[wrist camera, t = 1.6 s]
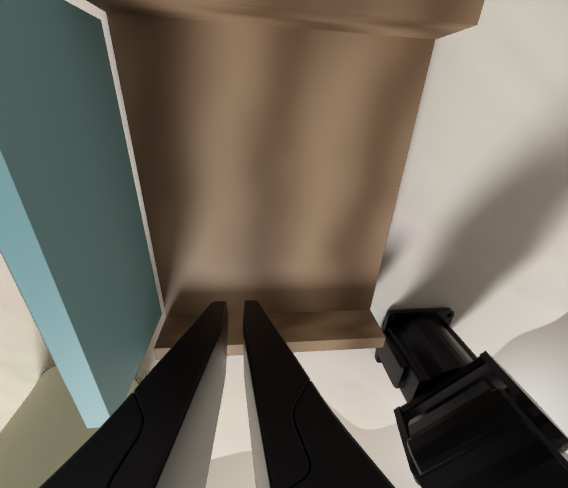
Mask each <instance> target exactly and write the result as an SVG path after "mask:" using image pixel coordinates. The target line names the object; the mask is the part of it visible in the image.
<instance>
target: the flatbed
mask: <svg viewBox="0 0 568 488" xmlns="http://www.w3.org/2000/svg"><path fill="white" fill-rule="evenodd" d="M87 1H89V2H90V3H92V4H93V5H95V6H97V7H98V8H100V9H102V10H103V11H105V12H106V14H107V19H108V24H109V29H110V34H111V39H112V44H113V49H114V54H115V59H116V64H117V69H118V75H119V80H120V85H121V90H122V95H123V100H124V105H125V110H126V115H127V120H128V125H129V130H130V135H131V140H132V145H133V150H134V155H135V160H136V166H137V171H138V176H139V181H140V186H141V191H142V196H143V201H144V206H145V211H146V216H147V221H148V226H149V231H150V236H151V241H152V246H153V252H154V257H155V262H156V267H157V272H158V277H159V282H160V287H161V292H162V297H163V302H164V307H165V312H166V319H165V322H164V325H163V327H162V330H161V332H160V335H159V337H158V340H157V342H156V345H155V347H154V352H155V356H156V359H162V358H163V357H164V355H165V354H166V353H167V352H168V351H169V350H170V349H171V348H172V346H173V345H174V344H175V343H176V342H177V341H178V340H179V338H180V337H181V336H182V335H183V334H184V333H185V332H186V331H187V329H188V328H189V327H190V326H191V325H192V324H193V323H194V322H195V320H196V319H197V318H198V317H199V316H200V315H201V314H202V312H203V311H204V310H205V309H206V308H207V307H208V306H209V305H210V303H211V302H213V301H226V302H227V309H228V342H227V356H230V355H244V351H243V312H244V301H245V300H258V301H259V302H260V304H261V305H262V307H263V308H264V310H265V311H266V313H267V314H268V316H269V317H270V319H271V320H272V322H273V323H274V325H275V326H276V328H277V330H278V331H279V333H280V334H281V336H282V337H283V339H284V340H285V342H286V343H287V345H288V346H289V348H290V349H291V351H292V352H306V351H325V350H344V349H363V348H382V347H383V345H384V342H385V338H386V337H385V335H384V334H383V332H382V330H381V328H380V327H379V325H378V323H377V321H376V320H375V318H374V316H373V314H372V313H371V311H370V307H371V303H372V299H373V295H374V291H375V286H376V282H377V278H378V274H379V270H380V266H381V262H382V257H383V253H384V249H385V245H386V241H387V237H388V233H389V228H390V224H391V220H392V216H393V212H394V208H395V203H396V199H397V195H398V191H399V187H400V183H401V179H402V174H403V170H404V166H405V162H406V158H407V154H408V150H409V145H410V141H411V137H412V133H413V129H414V125H415V121H416V116H417V112H418V108H419V104H420V100H421V96H422V92H423V87H424V83H425V79H426V75H427V71H428V67H429V63H430V58H431V54H432V50H433V46H434V42H435V39H438V38H441V37H444V36H446V35H449V34H452V33H455V32H458V31H461V30H464V29H467V28H470V27H473V26H475V25H477V24H478V21H479V17H480V14H481V10H482V7H483V3H484V0H87Z"/></svg>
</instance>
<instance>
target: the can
mask: <svg viewBox="0 0 568 488" xmlns="http://www.w3.org/2000/svg"><path fill="white" fill-rule="evenodd" d="M138 385H139V384H138V382H137V381H136V380H135V379H134V380H133V382H132V385H131V387H130V389H129V392H128V394H127V396H126V398H127V397H128V396H129V395H130V394H131V393H134V389H135V388H136V387H137V386H138ZM99 428H100V427H98V428H87V427H86V425H85V423H84V420H83V418H82V416H81V414H80V412H79V410H78V408H77V406H76V404H75V402H74V400H73V398H72V396H71V394H70V392H69V390H68V388H67V386H66V385H65V383H64V381H63V379H62V377H61V375H60V373H59V371H58V369H57V366H54V367H52V368H50V369H48V370H47V371H46V372H44V373H43V374H42V375H41V376H40V378H39V379H38V381H37V383H36V385H35V387H34V388H33V390H32V391H31V392H30V394H29V395H28V397H27V398H26V399H25V401H24V402H23V403H22V405H21V406H20V407H19V409H18V410H17V411H16V413H15V414H14V415H13V417H12V418H11V419H10V421H9V422H8V423H7V425H6V426H5V427H4V429H3V430H2V431H1V432H0V488H39V487H40V486H41V485H42V484H43V483H44V482H45V481H46V480H47V479H48V478H49V477H50V476H51V475H52V474H53V473H54V472H55V471H56V470H57V469H58V468H59V467H60V466H62V465H63V464H64V463H65V462H66V461H67V460H68V459H69V458H70V457H71V456H72V455H73V454H74V453H75V452H76V451H77V450H78V449H79V448H80V447H81V446H82V445H83V444H84V443H85V442H86V441H87V440H88V439H89V438H90V437H91V436H92V435H93V434H94V433H95V432H96V431H97V430H98V429H99Z"/></svg>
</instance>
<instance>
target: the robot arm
mask: <svg viewBox="0 0 568 488" xmlns="http://www.w3.org/2000/svg"><path fill="white" fill-rule="evenodd" d="M453 316H454V312H453V311H452V310H451V309H450V308H439V309H412V310H391V311H389V312H388V313H387V314H386V318H385V321H384V325H383V328H382V332H383V334H384V335H385V337H386V338H385V342H384V345H383V347H382V348H376V353H375V359H376V361H377V362H378V363H382V364H383V366H384V368H385V370H386V372H387V374H388V376H389V378H390V380H391V382H392V384H393V386H394V387H395V388H400V390H401V392H402V394H403V396H404V398H405V400H406V402H407V403H406V404H404V405H403V406H401V407H397V408H396V409H394V413H395V417H396V422H397V425H398V429H399V432H400V436H401V439H402V443H403V446H404V450H405V453H406V456H407V460H408V463H409V467H410V470H411V472H412V474H413V476H414V479H415V481H416V482H417V484H418V485H420V486H421V487H422V488H568V454H567V453H566V452H565V451H567V450H568V437H567V436H566V435H565V434H564V433H563V431H562V430H561V429H560V428H559V427H558V426H557V425H556V424H555V423H554V422H553V420H552V419H551V418H550V417H549V416H548V415H547V414H546V413H545V412H544V410H543V409H542V408H541V407H540V406H539V405H538V404H537V403H536V402H535V401H534V400H533V398H532V397H531V396H529V394H528V393H527V392H526V391H525V390H524V389H523V388H522V387H521V386H520V385H519V384H518V383H517V382H516V381H515V380H514V379H513V378H512V377H511V375H510V374H509V373H508V372H506V370H505V369H503V368H502V367H501V366H500V365H499V364H498V363H497V362H496V361H495V360H494V359H493V358H492V357H491V356H490V355H489V354H488V353H487V352H486V351H484V352H483V353H481V354H480V356H479V357H478V358H477V357H476V356H475V354H474V353H473V352H472V351H471V350H470V349H469V348H468V346H467V345H466V344H465V343H464V342H463V341H462V340H461V339H460V337H459V336H458V335H457V334H456V333H455V332H454V331H453V329H452V328H451V327H450V326H449V325H450V323H451V321H452V318H453ZM227 342H228V309H227V302H226V301H213V302H211V303H210V305H209V306H208V307H207V308H206V309H205V310H204V311H203V312H202V314H201V315H200V316H199V317H198V318H197V319H196V320H195V322H194V323H193V324H192V325H191V326H190V327H189V328H188V329H187V331H186V332H185V333H184V334H183V335H182V336H181V337H180V338H179V340H178V341H177V342H176V343H175V344H174V345H173V346H172V348H171V349H170V350H169V351H168V352H167V353H166V354H165V355H164V357H163V358H162V359H161V360H160V361H159V362H158V363H157V364H156V366H155V367H154V368H153V369H152V370H151V371H150V372H149V374H148V375H147V376H146V377H145V378H144V379H143V380H142V381H141V383H140V384H139V385H138V386H137V387H136V388H135V389H134V393H131V394H130V395H129V396H128V397H127V398H126V399H125V400H124V402H123V403H122V404H121V405H120V406H119V407H118V408H117V409H116V410H115V412H114V413H113V414H112V415H111V416H110V417H109V418H108V419H107V420H106V421H105V422H104V423H103V425H102V426H101V427H100V428H99V429H98V430H97V431H96V432H95V433H94V434H93V435H92V436H91V437H90V438H89V439H88V440H87V441H86V442H85V443H84V444H83V445H82V446H81V447H80V448H79V449H78V450H77V451H76V452H75V453H74V454H73V455H72V456H71V457H70V458H69V459H68V460H67V461H66V462H65V463H64V464H63V465H62V466H60V467H59V468H58V469H57V470H56V471H55V472H54V473H53V474H52V475H51V476H50V477H49V478H48V479H47V480H46V481H45V482H44V483H43V484H42V485H41V486H40V487H39V488H205V486H206V481H207V475H208V470H209V464H210V459H211V453H212V448H213V442H214V437H215V431H216V426H217V420H218V415H219V409H220V404H221V398H222V393H223V387H224V381H225V373H226V359H227ZM243 351H244V378H245V389H246V398H247V408H248V417H249V426H250V436H251V445H252V454H253V463H254V473H255V482H256V488H395V487H394V486H393V485H392V483H391V482H390V481H389V480H388V479H387V477H386V476H385V475H384V474H383V473H382V471H381V470H380V469H379V468H378V467H377V465H376V464H375V463H374V462H373V461H372V460H371V458H370V457H369V456H368V455H367V453H366V452H365V451H364V450H363V449H362V447H361V446H360V445H359V444H358V443H357V441H356V440H355V439H354V438H353V437H352V436H351V434H350V433H349V432H348V431H347V429H346V428H345V427H344V426H343V424H342V423H341V422H340V421H339V419H338V418H337V417H336V416H335V414H334V413H333V412H332V410H331V409H330V408H329V406H328V405H327V403H326V402H325V400H324V399H323V398H322V396H321V395H320V393H319V392H318V390H317V389H316V387H315V386H314V384H313V383H312V381H310V378H309V377H308V375H307V374H306V372H305V371H304V369H303V368H302V366H301V365H300V363H299V362H298V360H297V358H296V357H295V355H294V354H293V352H292V351H291V349H290V348H289V346H288V345H287V343H286V342H285V340H284V339H283V337H282V336H281V334H280V333H279V331H278V330H277V328H276V326H275V325H274V323H273V322H272V320H271V319H270V317H269V316H268V314H267V313H266V311H265V310H264V308H263V307H262V305H261V304H260V302H259V301H258V300H245V301H244V312H243Z"/></svg>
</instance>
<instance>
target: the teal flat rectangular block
mask: <svg viewBox="0 0 568 488" xmlns="http://www.w3.org/2000/svg"><path fill="white" fill-rule="evenodd" d="M0 252H1V254H2V256H3V258H4V260H5V262H6V264H7V266H8V269H9V271H10V273H11V275H12V277H13V279H14V281H15V283H16V285H17V287H18V289H19V291H20V293H21V295H22V297H23V299H24V301H25V303H26V305H27V307H28V309H29V311H30V313H31V315H32V318H33V320H34V322H35V324H36V326H37V328H38V330H39V332H40V334H41V336H42V338H43V340H44V342H45V344H46V346H47V348H48V350H49V352H50V354H51V356H52V358H53V360H54V362H55V364H56V366H57V369H58V371H59V373H60V375H61V377H62V379H63V381H64V383H65V385H66V386H67V388H68V390H69V392H70V394H71V396H72V398H73V400H74V402H75V404H76V406H77V408H78V410H79V412H80V414H81V416H82V418H83V420H84V423H85V425H86V427H87V428H98V427H101V426H102V425H103V423H104V422H105V421H106V420H107V419H108V418H109V417H110V416H111V415H112V414H113V413H114V412H115V410H116V409H117V408H118V407H119V406H120V405H121V404H122V403H123V402H124V400H125V399H126V396H127V394H128V392H129V389H130V387H131V385H132V382H133V380H134V378H135V375H136V373H137V371H138V368H139V366H140V364H141V361H142V359H143V357H144V354H145V352H146V350H147V347H148V345H149V343H150V340H151V338H152V336H153V333H154V331H155V329H156V326H157V324H158V322H159V319H160V317H161V315H162V313H161V308H160V304H159V299H158V294H157V289H156V284H155V279H154V275H153V270H152V265H151V260H150V255H149V250H148V246H147V241H146V236H145V231H144V226H143V221H142V217H141V212H140V207H139V202H138V197H137V192H136V188H135V183H134V178H133V173H132V168H131V163H130V159H129V154H128V149H127V144H126V139H125V134H124V130H123V125H122V120H121V115H120V110H119V105H118V101H117V96H116V91H115V86H114V81H113V76H112V72H111V67H110V62H109V57H108V52H107V47H106V43H105V38H104V33H103V28H102V23H101V20H100V19H98V18H96V17H94V16H92V15H90V14H89V13H87V12H85V11H83V10H81V9H79V8H78V7H76V6H74V5H72V4H70V3H68V2H67V1H65V0H0Z"/></svg>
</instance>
